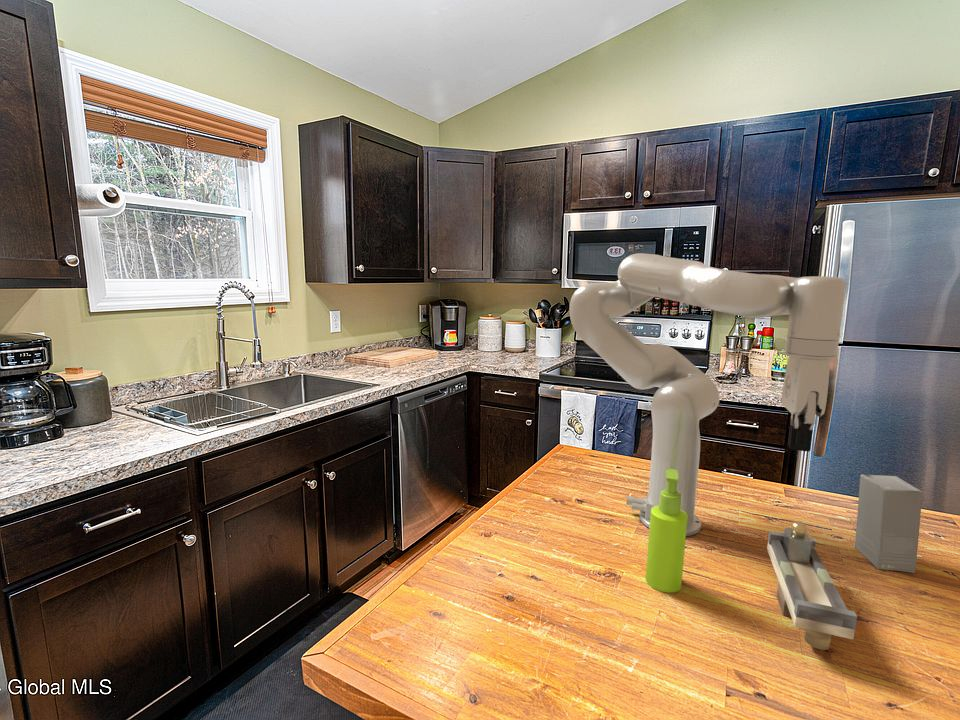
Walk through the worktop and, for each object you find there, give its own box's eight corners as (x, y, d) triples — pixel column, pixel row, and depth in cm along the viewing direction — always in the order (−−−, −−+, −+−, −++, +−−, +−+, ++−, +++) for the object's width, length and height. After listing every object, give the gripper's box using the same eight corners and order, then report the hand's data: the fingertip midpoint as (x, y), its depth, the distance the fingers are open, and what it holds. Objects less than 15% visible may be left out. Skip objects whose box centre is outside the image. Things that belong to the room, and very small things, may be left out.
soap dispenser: (680, 573, 90) (689, 468, 87) (682, 595, 83) (692, 483, 80) (646, 566, 92) (654, 463, 88) (645, 588, 85) (653, 478, 82)
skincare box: (916, 574, 91) (930, 493, 88) (871, 569, 92) (884, 489, 89) (888, 550, 99) (901, 474, 96) (848, 545, 100) (859, 471, 97)
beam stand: (791, 651, 71) (797, 604, 70) (764, 568, 92) (769, 530, 90) (849, 665, 69) (857, 616, 68) (808, 577, 89) (814, 538, 88)
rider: (787, 560, 85) (791, 527, 84) (782, 548, 88) (786, 517, 87) (808, 564, 83) (813, 531, 82) (803, 552, 87) (807, 520, 86)
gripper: (777, 342, 95) (767, 434, 98) (796, 352, 81) (783, 460, 84) (824, 344, 92) (811, 439, 95) (851, 355, 78) (836, 466, 81)
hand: (798, 448), depth 89 cm, fingers closed
